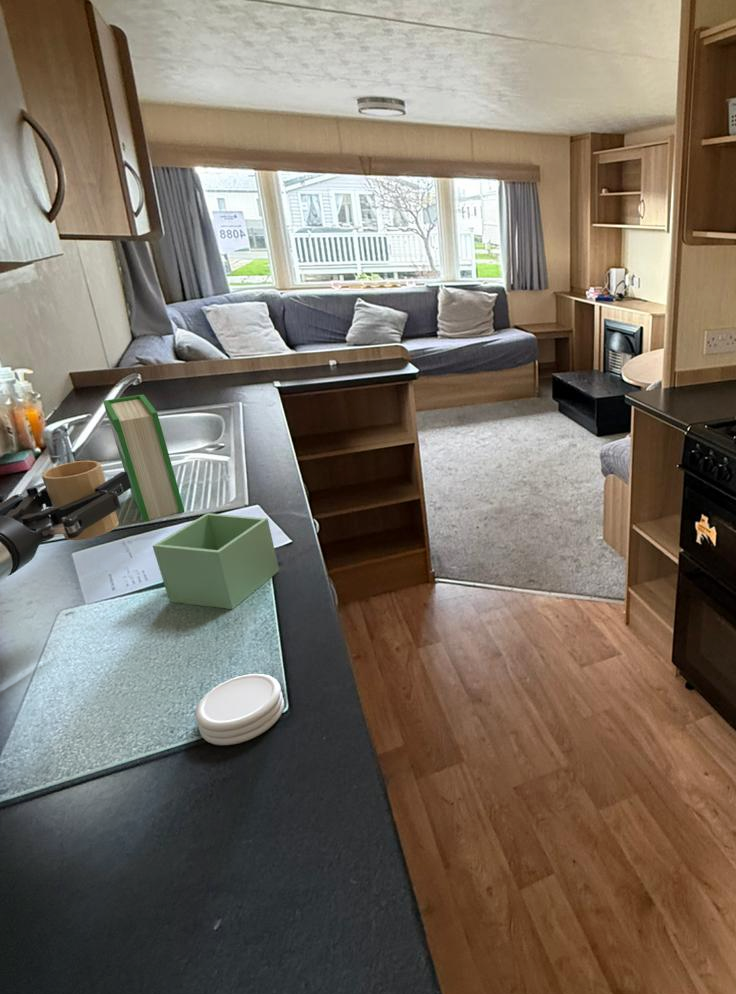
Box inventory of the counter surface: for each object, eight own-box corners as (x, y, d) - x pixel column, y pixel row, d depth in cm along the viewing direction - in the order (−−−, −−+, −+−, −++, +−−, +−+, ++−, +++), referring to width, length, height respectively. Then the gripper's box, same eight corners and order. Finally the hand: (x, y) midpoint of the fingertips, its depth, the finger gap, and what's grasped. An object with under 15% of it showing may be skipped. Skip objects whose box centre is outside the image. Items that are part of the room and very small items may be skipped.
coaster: (194, 757, 80) (187, 735, 79) (207, 703, 89) (201, 683, 88) (283, 734, 84) (277, 713, 82) (286, 684, 92) (281, 664, 91)
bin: (169, 601, 112) (152, 545, 107) (220, 564, 123) (207, 512, 119) (233, 609, 109) (218, 552, 105) (279, 571, 121) (267, 518, 117)
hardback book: (186, 517, 141) (157, 412, 132) (146, 528, 137) (113, 419, 128) (170, 492, 154) (143, 394, 144) (133, 501, 149) (102, 400, 140)
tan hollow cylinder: (52, 538, 97) (29, 476, 93) (93, 517, 103) (73, 459, 99) (90, 542, 95) (69, 480, 92) (129, 521, 102) (111, 462, 98)
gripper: (-91, 584, 81) (42, 504, 102) (76, 577, 82) (173, 499, 104) (-116, 531, 78) (26, 459, 99) (57, 525, 79) (160, 456, 101)
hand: (101, 480), depth 101 cm, fingers closed on tan hollow cylinder, 7 cm apart
